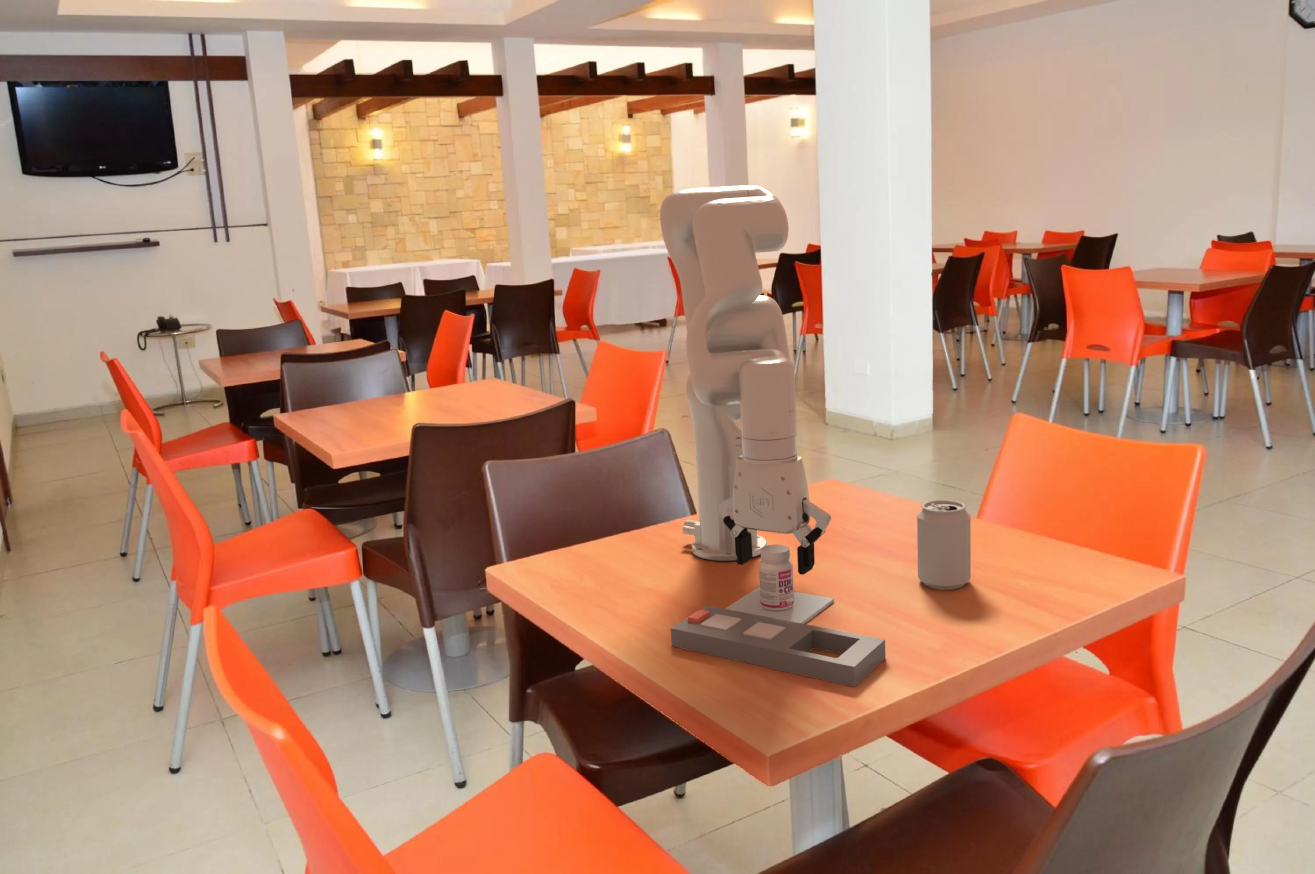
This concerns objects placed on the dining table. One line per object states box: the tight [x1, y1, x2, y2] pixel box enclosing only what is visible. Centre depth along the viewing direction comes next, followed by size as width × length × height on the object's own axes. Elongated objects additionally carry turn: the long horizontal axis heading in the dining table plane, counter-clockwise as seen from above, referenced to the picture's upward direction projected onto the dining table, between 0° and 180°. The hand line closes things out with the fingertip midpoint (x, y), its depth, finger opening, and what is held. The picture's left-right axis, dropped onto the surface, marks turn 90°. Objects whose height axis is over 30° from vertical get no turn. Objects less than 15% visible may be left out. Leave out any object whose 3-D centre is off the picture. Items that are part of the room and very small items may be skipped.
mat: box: [724, 586, 835, 624], centre depth 147 cm, size 12×12×1 cm
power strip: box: [670, 605, 886, 688], centre depth 132 cm, size 26×9×3 cm, turn 55°
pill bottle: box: [758, 544, 795, 611], centre depth 146 cm, size 5×5×8 cm
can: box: [916, 499, 972, 591], centre depth 151 cm, size 8×8×12 cm
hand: (774, 566), depth 145 cm, fingers open, 9 cm apart
